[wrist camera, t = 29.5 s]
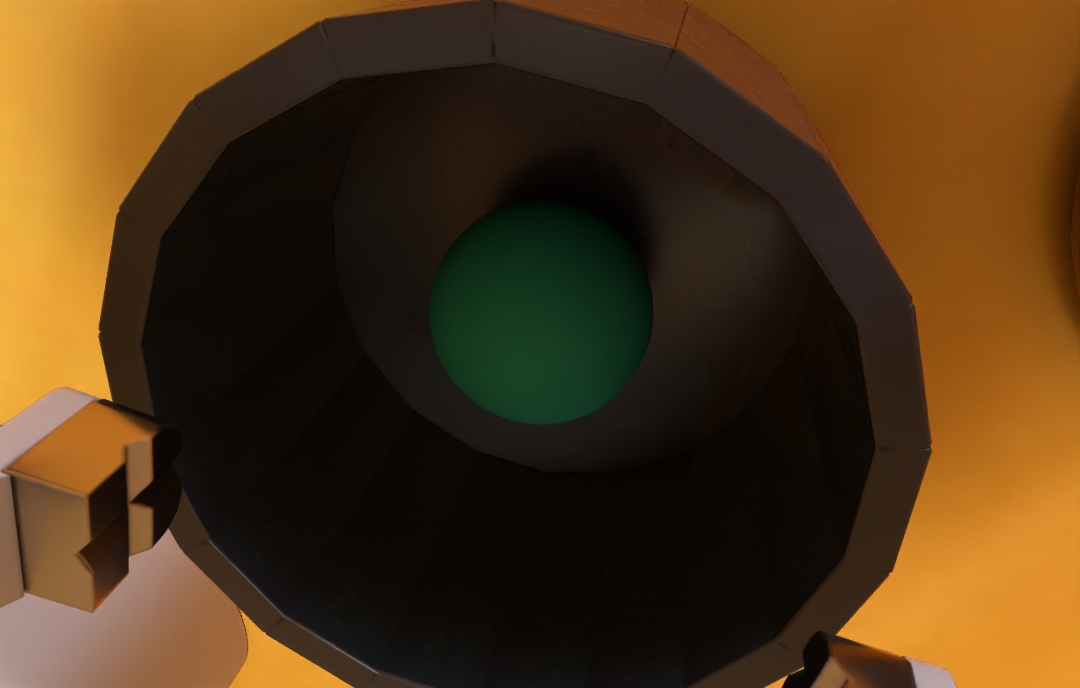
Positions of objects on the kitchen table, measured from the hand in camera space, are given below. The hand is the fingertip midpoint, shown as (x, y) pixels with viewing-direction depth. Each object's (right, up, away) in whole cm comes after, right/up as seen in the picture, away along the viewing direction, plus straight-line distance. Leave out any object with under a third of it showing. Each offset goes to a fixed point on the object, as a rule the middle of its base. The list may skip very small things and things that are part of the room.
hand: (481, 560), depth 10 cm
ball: (+1, +4, +10) cm, 11 cm away
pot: (+1, +5, +11) cm, 12 cm away
